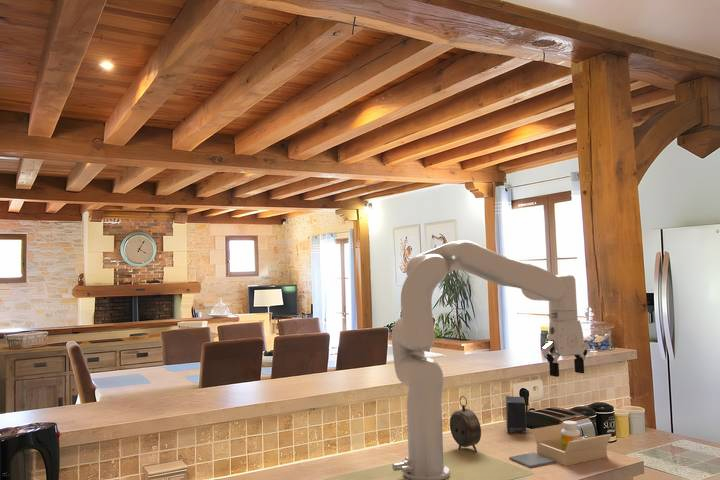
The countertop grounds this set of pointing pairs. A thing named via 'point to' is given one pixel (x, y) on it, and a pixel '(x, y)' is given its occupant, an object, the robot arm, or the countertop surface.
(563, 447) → the supplement bottle
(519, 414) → the small box
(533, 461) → the plate
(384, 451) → the countertop surface
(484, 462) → the countertop surface
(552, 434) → the carton
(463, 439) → the alarm clock
